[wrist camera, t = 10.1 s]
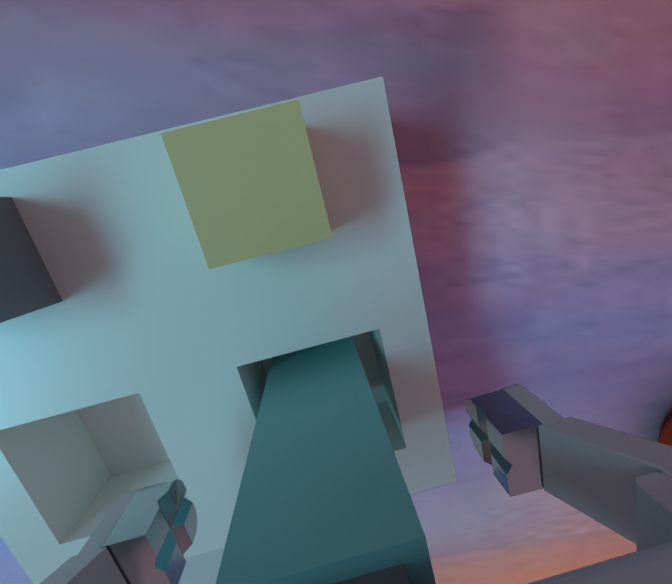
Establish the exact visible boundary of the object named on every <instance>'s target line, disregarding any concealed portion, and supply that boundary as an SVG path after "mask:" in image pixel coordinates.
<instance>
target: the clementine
mask: <svg viewBox="0 0 672 584" xmlns="http://www.w3.org/2000/svg"><path fill="white" fill-rule="evenodd" d="M658 443H662V444H665V445H669V446H672V416H671V417H670V418H669V419H668V421H667V422H666V423H665V425H664V426H663V428H662V430H661V432H660V435H659V440H658Z"/></svg>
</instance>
